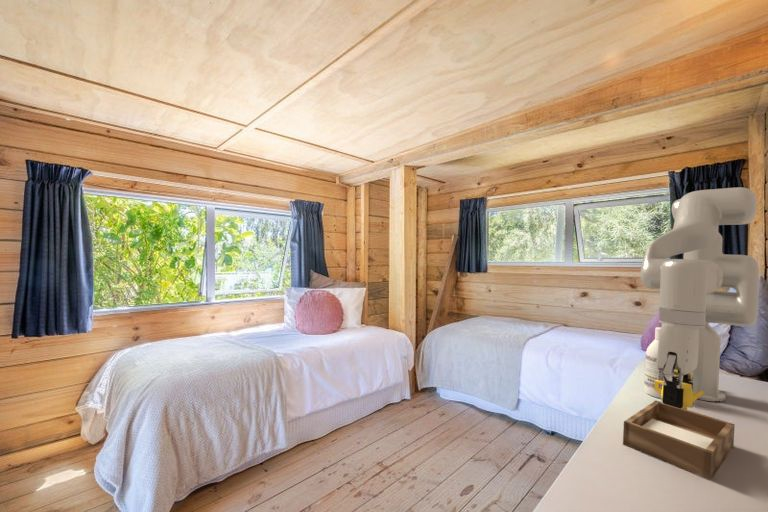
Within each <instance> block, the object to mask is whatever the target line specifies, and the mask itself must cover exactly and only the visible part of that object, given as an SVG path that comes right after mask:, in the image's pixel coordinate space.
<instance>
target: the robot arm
mask: <svg viewBox="0 0 768 512" xmlns="http://www.w3.org/2000/svg"><path fill="white" fill-rule="evenodd" d="M757 210H758V199H757V196H756V193H755V192H754V191H753V190H752V189H750V188H748V187H738V186H737V187H726V188H724V187H723V188H715V189H714V188H713V189H701V190H695V191H691V192H687V193H686V194H685V195H683V196H682V197H681V198H679V199H676V200H675V201H673V203H672V205H671V214H672V217H673V220H674V222H673V227H672V228H671V229H670V230H669V231H667V232H665V233H663V234H662V235H660V236H658V237H657V238H655V239H654V240H653V241H651V242H650V243H649V244H648V246H647V248H646V249H645V252H644V256H643V259H642V263H641V267H640V273H639V275H640V280H641V283H642V285H643V286H644V287H645V288H648V289H650V290H655V291H659V299H658V300H659V303H658V324H659V323H660V324H661V326H660V327H661V330H660V336H659V343H658V353H657V364H656V367H657V368H658V369H659V370H662V369H664V368H665V369H664V381H663V401H662V403H664V404H667V405H670V406H673V407H677V408H682V407H683V392H684V389H682V382H683V383H687V384H691V385H692V391H693V394H695V393H696V392H698V391H700V390H701V391H704V393H703V394H702V395H701V396H700V397H699V398H698V399H697V400H702V401H707V402H715V401H717V402H718V401H720V402H724V401H726V395H725V393H723V392H722V391H720V390H719V389H720V388H719V385H720V384H719V383H720V381H719V380H720V362H721V361H720V360H721V336H720V335H719V334H718V332H717V331H716V330H715V329H714V327H712V326H711V325H710V324H720V325H727V326H728V325H729V326H738V327H750V326H751V327H752V326H753V325H755V323H756V322H757V320H758V316H759V300H760V299H759V298H760V297H759V294H760V293H759V292H760V267H759V264H758V262H757V260H756V259H755V257H752V256H751V255H745V254H725V253H723V240H724V238H723V236H722V234H721V233H720V232H719V226H725V225H726V226H729V225H731V226H732V225H733V226H735V225H739V226H740V225H741V226H742V225H749V224H750V223H752V222H753V221H754V219H755V218H756V215H757ZM680 254H681V255H682V254H683V258H670V257H673V256H677V255H680ZM720 287H721V288H730V289H733V290H735V292H732V291H721V290H719V291H718V289H719V288H720ZM674 369H675V372H674ZM674 375H675V376H674ZM677 380H678V381H677ZM717 402H716V403H717Z"/></svg>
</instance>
